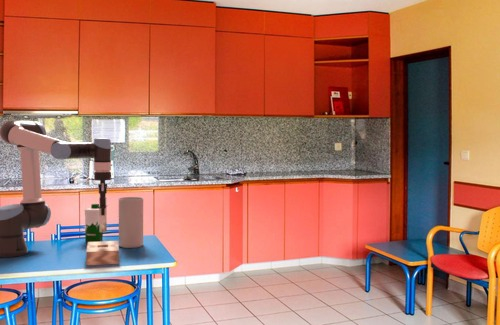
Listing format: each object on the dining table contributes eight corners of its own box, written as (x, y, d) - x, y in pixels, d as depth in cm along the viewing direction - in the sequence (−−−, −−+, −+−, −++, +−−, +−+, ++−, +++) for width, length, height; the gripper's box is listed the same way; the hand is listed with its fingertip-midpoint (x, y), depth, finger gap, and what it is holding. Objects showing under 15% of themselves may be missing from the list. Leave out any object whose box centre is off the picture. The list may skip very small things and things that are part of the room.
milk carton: (104, 239, 278) (104, 203, 277) (98, 243, 269) (98, 206, 268) (89, 239, 278) (88, 203, 278) (82, 242, 269) (82, 205, 268)
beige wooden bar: (99, 232, 232) (99, 198, 231) (99, 231, 235) (99, 197, 235) (106, 232, 233) (106, 197, 232) (106, 230, 236) (106, 197, 235)
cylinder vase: (141, 242, 272) (141, 196, 270) (144, 247, 260) (144, 199, 259) (117, 244, 267) (117, 197, 266) (120, 249, 256) (120, 200, 254)
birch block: (86, 265, 222) (86, 252, 222) (88, 254, 243) (88, 242, 243) (118, 263, 226) (118, 250, 226) (117, 252, 247) (117, 240, 247)
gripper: (111, 172, 226) (111, 224, 227) (110, 170, 242) (111, 218, 243) (93, 172, 224) (94, 224, 225) (94, 170, 240) (94, 219, 241)
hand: (102, 221), depth 234 cm, fingers closed on beige wooden bar, 3 cm apart
